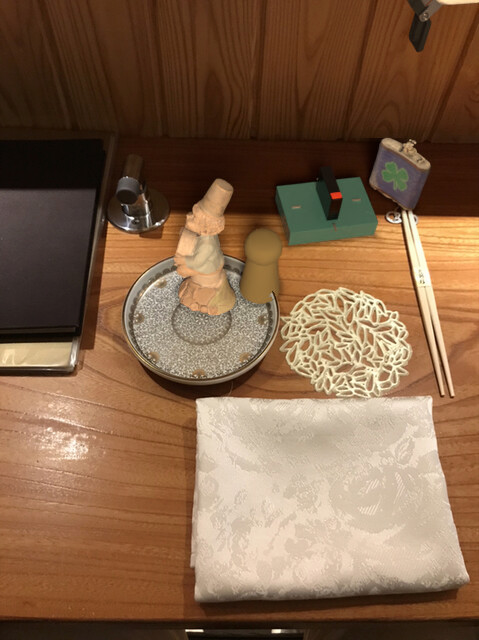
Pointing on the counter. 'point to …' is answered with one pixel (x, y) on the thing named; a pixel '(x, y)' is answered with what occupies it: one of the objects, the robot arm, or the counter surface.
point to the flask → (399, 172)
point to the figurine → (205, 254)
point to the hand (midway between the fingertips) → (451, 42)
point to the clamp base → (309, 219)
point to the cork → (261, 266)
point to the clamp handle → (329, 193)
